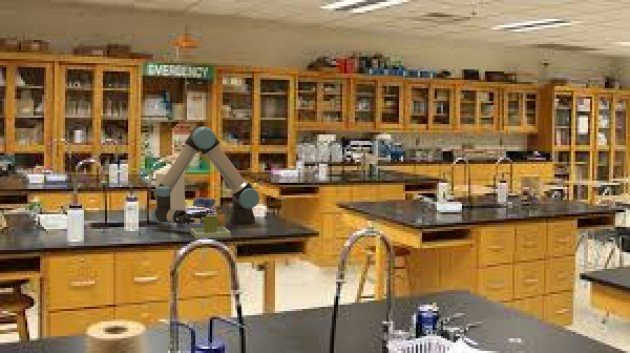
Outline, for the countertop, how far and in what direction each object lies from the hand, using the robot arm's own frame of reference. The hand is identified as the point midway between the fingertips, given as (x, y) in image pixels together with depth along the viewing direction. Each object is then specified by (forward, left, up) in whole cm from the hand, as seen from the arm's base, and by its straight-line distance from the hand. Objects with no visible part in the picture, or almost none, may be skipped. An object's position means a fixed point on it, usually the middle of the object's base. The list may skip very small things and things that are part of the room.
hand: (208, 219), depth 363 cm
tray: (-1, +1, -8) cm, 8 cm away
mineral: (-13, -82, -9) cm, 84 cm away
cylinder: (+11, -64, -9) cm, 66 cm away
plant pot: (-1, 0, -8) cm, 8 cm away
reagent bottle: (-9, -14, -8) cm, 19 cm away
